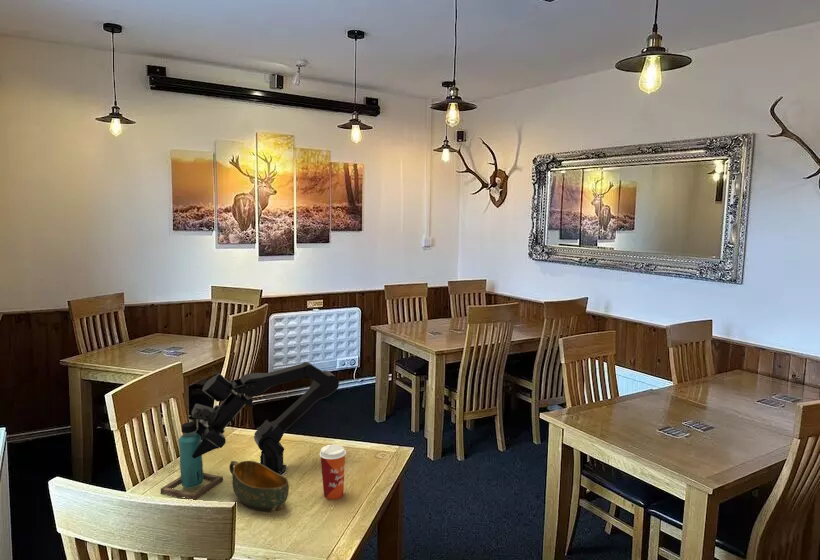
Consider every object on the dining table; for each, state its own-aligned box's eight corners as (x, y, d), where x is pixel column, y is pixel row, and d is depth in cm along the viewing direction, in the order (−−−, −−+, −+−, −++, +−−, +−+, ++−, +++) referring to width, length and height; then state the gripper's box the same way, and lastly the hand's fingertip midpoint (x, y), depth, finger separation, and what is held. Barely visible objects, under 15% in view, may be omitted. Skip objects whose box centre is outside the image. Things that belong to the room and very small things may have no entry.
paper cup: (335, 504, 156) (334, 457, 154) (314, 496, 160) (313, 450, 158) (352, 492, 163) (351, 447, 161) (332, 485, 167) (331, 441, 165)
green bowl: (270, 481, 170) (269, 450, 168) (293, 511, 153) (292, 477, 151) (227, 492, 163) (226, 460, 161) (246, 526, 146) (244, 490, 145)
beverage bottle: (199, 492, 163) (195, 427, 160) (177, 492, 163) (173, 427, 160) (207, 482, 169) (204, 419, 167) (186, 482, 169) (182, 419, 167)
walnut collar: (223, 481, 170) (223, 476, 170) (194, 501, 158) (194, 496, 158) (191, 474, 174) (190, 470, 174) (160, 493, 163) (160, 488, 162)
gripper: (203, 385, 173) (167, 425, 170) (212, 404, 157) (171, 448, 153) (230, 406, 178) (195, 445, 174) (241, 426, 161) (203, 469, 158)
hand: (191, 451), depth 165 cm, fingers open, 9 cm apart
